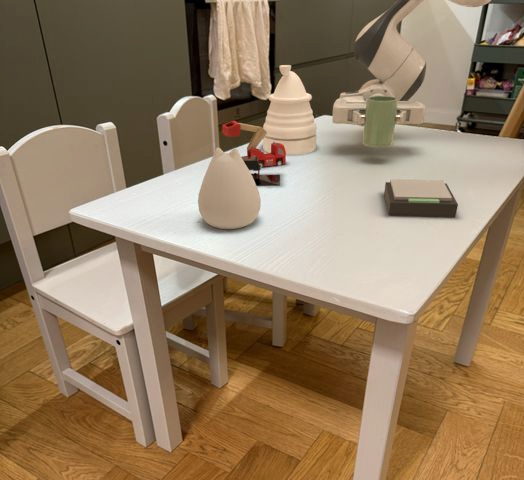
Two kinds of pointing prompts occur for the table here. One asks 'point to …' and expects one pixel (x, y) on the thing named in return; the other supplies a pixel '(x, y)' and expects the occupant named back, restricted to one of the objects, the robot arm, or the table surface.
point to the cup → (379, 121)
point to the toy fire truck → (265, 160)
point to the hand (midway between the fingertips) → (380, 120)
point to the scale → (419, 198)
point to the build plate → (259, 179)
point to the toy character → (228, 192)
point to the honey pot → (290, 116)
